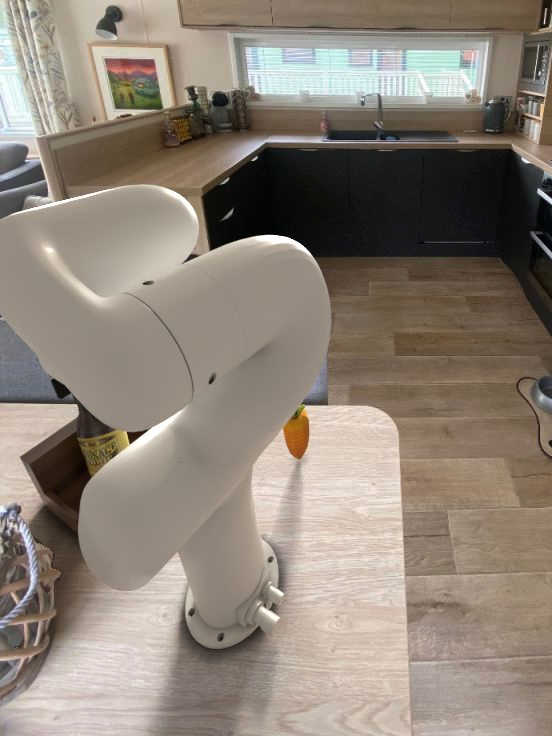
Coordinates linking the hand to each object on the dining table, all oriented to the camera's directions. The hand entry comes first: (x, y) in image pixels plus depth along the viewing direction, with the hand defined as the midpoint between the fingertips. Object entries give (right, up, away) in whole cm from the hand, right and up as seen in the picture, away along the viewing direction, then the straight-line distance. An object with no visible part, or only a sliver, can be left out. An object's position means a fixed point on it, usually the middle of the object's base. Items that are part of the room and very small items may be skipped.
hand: (87, 403), depth 63 cm
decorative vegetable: (+32, -9, +9) cm, 34 cm away
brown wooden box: (-2, -18, +8) cm, 19 cm away
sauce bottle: (0, -15, +7) cm, 17 cm away
